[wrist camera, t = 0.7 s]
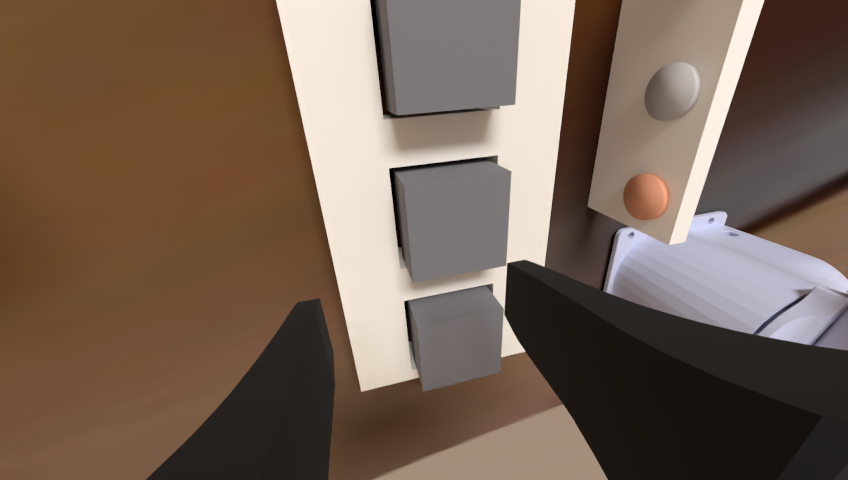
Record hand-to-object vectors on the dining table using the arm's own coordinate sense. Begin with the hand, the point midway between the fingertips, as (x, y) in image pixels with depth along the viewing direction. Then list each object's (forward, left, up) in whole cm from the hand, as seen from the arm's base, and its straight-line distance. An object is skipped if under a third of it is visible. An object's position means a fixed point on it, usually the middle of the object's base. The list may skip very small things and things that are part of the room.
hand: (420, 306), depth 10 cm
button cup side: (-3, +8, -8) cm, 11 cm away
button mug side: (-3, -8, -8) cm, 11 cm away
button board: (-3, 0, -9) cm, 10 cm away
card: (-14, -5, -9) cm, 18 cm away
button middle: (-3, 0, -8) cm, 8 cm away
